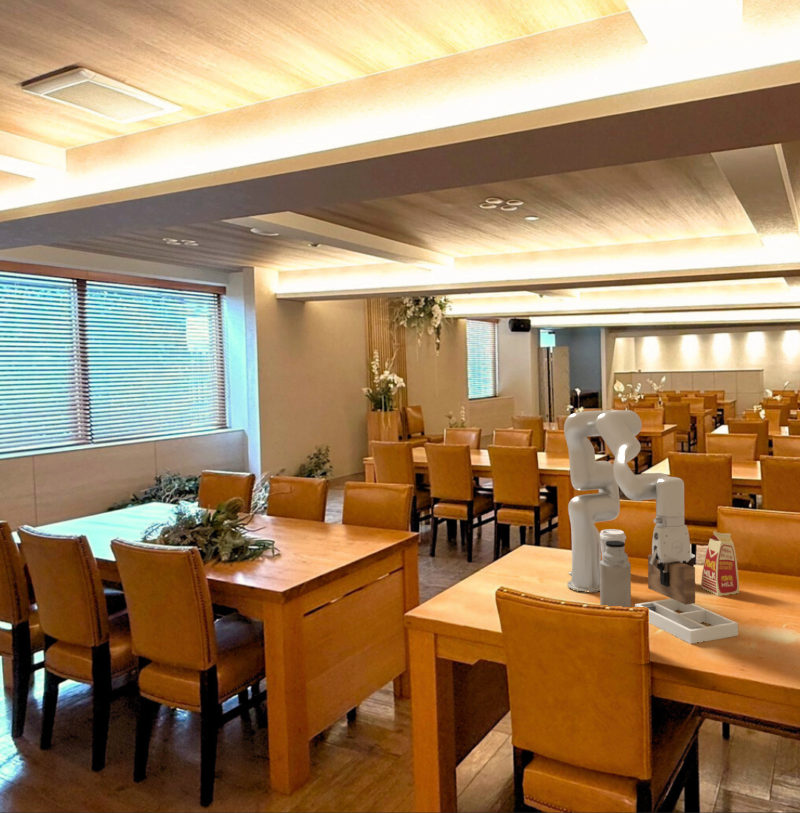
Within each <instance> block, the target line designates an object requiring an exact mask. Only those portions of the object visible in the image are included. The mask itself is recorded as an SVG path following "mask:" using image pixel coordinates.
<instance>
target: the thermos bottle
mask: <svg viewBox="0 0 800 813" xmlns="http://www.w3.org/2000/svg"><path fill="white" fill-rule="evenodd" d="M625 544H626V542H625V543H624V542H622V541H607V542H606V552H604V553H603V556H602V555H601V561H600V592H599V593H600V594H599V598H600V599H599V600H600V602H599V605H608V606H622V607H631V608H632V597H631V596H632V595H631V594H632V592H631V591H632V589H631V588H632V584H631V583H632V582H631V581H632V580H631V579H632V578H631V577H632V574H631V573H632V572H631V569H632V568H631V566H632V565H631V562H630V561H629V556H628V554H627V553H626V552H625ZM602 559H603V560H602Z"/></svg>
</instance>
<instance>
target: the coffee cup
mask: <svg viewBox="0 0 800 813" xmlns="http://www.w3.org/2000/svg"><path fill="white" fill-rule="evenodd" d="M599 533H600V537H601V557H602V556H603V553H604V552H606V542H607V541H622V542H624V543H625V544H626V539H627V536H626V534H625V532H624V531H623V530H621V529H615V528H613V529H612V528H609V529H608V528H607V529H602V530H600V532H599ZM601 560H603V559H602V558H601Z"/></svg>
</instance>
